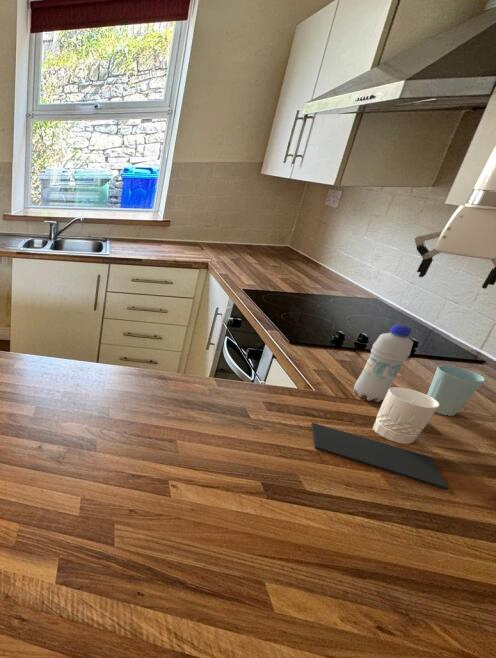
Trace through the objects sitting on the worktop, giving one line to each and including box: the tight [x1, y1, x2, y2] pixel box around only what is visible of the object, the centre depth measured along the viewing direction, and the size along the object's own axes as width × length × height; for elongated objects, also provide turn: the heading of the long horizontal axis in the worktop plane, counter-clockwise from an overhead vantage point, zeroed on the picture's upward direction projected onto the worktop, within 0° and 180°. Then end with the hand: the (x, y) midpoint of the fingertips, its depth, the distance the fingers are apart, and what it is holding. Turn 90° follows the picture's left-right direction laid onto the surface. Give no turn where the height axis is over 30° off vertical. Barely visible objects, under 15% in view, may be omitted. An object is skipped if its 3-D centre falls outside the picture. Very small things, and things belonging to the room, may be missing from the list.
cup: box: [426, 364, 486, 417], centre depth 97 cm, size 8×8×10 cm
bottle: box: [353, 324, 414, 403], centre depth 99 cm, size 7×7×20 cm
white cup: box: [372, 386, 440, 445], centre depth 87 cm, size 8×8×10 cm
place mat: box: [310, 422, 449, 491], centre depth 84 cm, size 20×10×1 cm, turn 57°
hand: (451, 281), depth 89 cm, fingers open, 9 cm apart
